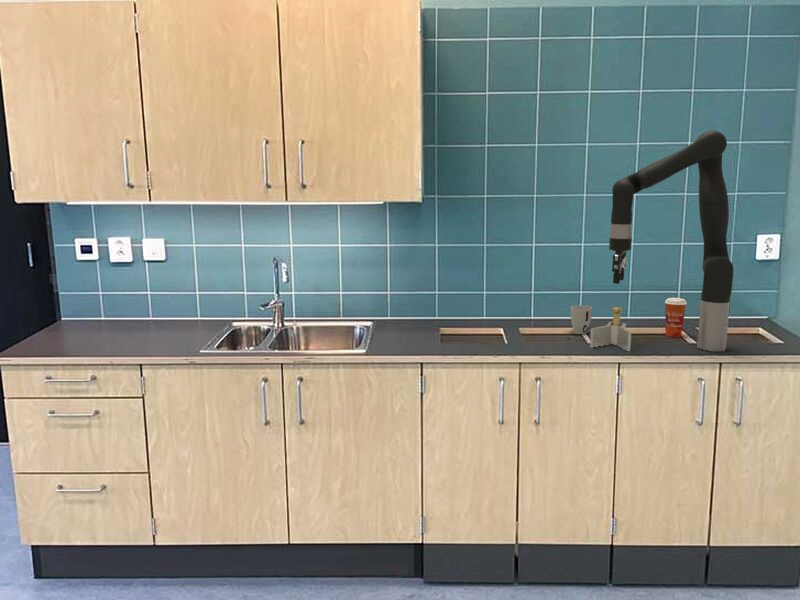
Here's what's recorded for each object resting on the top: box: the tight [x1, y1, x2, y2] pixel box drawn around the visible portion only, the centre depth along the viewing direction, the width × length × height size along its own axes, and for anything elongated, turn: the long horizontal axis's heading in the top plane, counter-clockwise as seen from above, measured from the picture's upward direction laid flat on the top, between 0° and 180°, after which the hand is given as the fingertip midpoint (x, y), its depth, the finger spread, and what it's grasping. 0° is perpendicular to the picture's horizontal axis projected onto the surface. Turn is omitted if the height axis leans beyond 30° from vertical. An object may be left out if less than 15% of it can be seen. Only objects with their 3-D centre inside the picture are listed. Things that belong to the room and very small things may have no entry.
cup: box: [570, 304, 593, 335], centre depth 278 cm, size 8×8×10 cm
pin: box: [611, 306, 623, 326], centre depth 262 cm, size 3×3×13 cm
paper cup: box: [664, 297, 688, 338], centre depth 272 cm, size 8×8×14 cm
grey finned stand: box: [589, 321, 632, 352], centre depth 258 cm, size 14×14×7 cm
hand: (618, 281), depth 259 cm, fingers open, 8 cm apart
